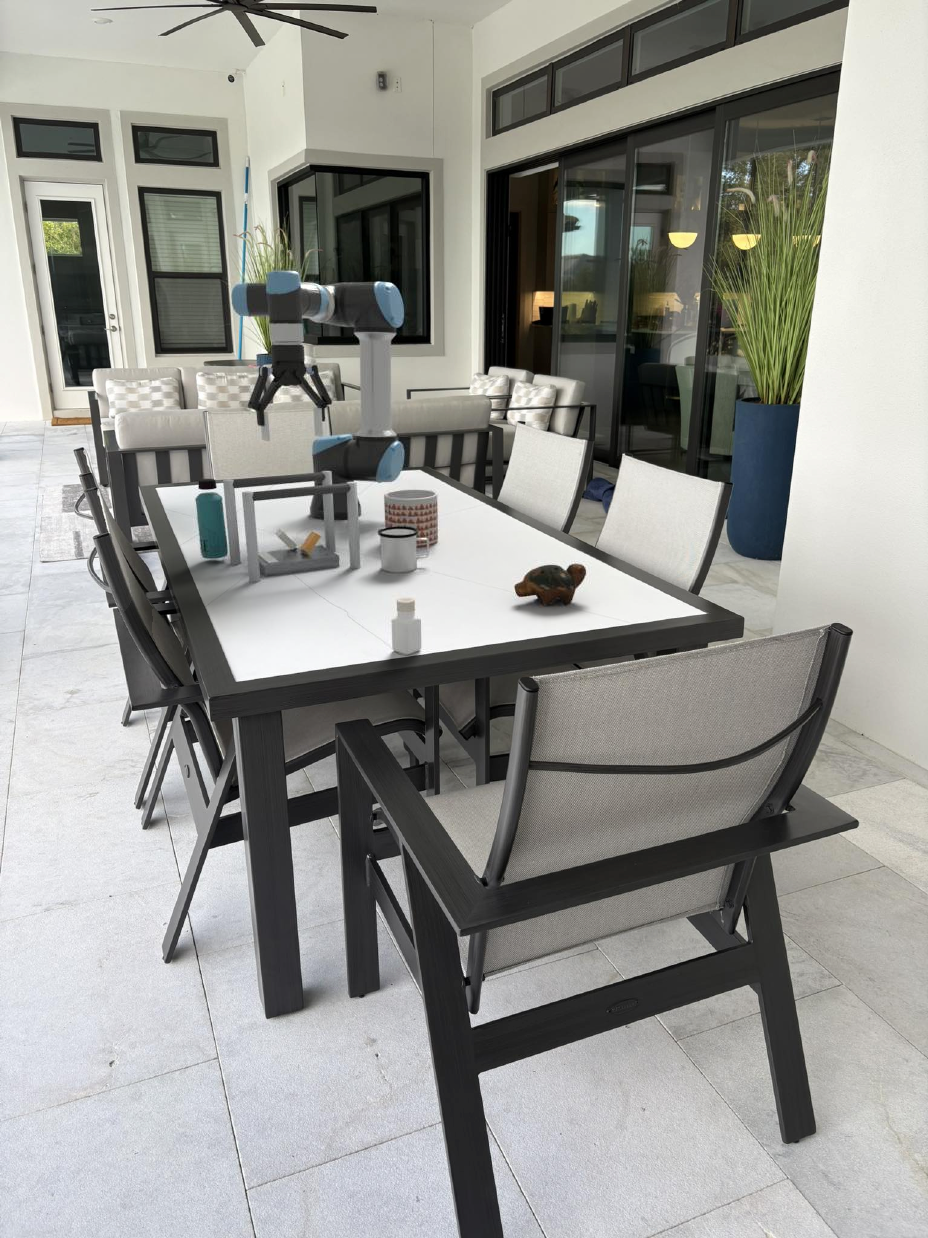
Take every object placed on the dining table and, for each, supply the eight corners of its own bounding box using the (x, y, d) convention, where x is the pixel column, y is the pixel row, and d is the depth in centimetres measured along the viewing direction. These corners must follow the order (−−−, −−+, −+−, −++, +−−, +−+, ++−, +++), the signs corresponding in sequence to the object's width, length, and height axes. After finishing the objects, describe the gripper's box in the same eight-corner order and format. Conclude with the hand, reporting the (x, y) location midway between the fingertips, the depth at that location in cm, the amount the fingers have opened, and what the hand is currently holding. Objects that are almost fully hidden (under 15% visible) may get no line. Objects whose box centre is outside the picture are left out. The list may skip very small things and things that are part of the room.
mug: (383, 575, 204) (382, 536, 201) (375, 564, 213) (374, 527, 210) (434, 570, 207) (433, 532, 205) (424, 560, 216) (423, 524, 213)
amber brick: (303, 553, 214) (317, 534, 215) (307, 556, 212) (321, 536, 212) (298, 550, 213) (312, 530, 214) (302, 552, 211) (316, 533, 211)
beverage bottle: (234, 559, 218) (227, 477, 211) (218, 566, 212) (210, 482, 206) (211, 557, 220) (203, 475, 213) (195, 563, 214) (186, 480, 208)
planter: (446, 538, 237) (446, 491, 233) (423, 550, 225) (422, 500, 221) (401, 533, 242) (400, 487, 238) (376, 545, 231) (374, 496, 227)
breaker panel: (322, 554, 222) (322, 543, 221) (339, 566, 212) (339, 554, 211) (250, 564, 214) (250, 552, 213) (265, 576, 204) (264, 564, 203)
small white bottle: (406, 656, 156) (405, 604, 153) (391, 651, 158) (389, 600, 155) (422, 650, 159) (421, 599, 156) (407, 645, 161) (405, 594, 158)
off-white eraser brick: (295, 544, 218) (279, 528, 215) (299, 547, 216) (283, 531, 213) (290, 549, 218) (274, 533, 215) (294, 552, 216) (278, 536, 213)
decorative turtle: (594, 604, 183) (594, 567, 180) (525, 616, 180) (524, 578, 176) (575, 588, 192) (575, 553, 189) (509, 599, 188) (507, 563, 185)
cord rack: (333, 549, 226) (329, 470, 220) (362, 567, 210) (358, 483, 204) (229, 562, 215) (221, 479, 208) (251, 583, 199) (243, 493, 192)
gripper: (328, 342, 213) (332, 432, 220) (228, 344, 199) (236, 440, 206) (343, 342, 207) (347, 435, 214) (241, 344, 193) (249, 443, 200)
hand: (292, 438), depth 210 cm, fingers open, 13 cm apart
